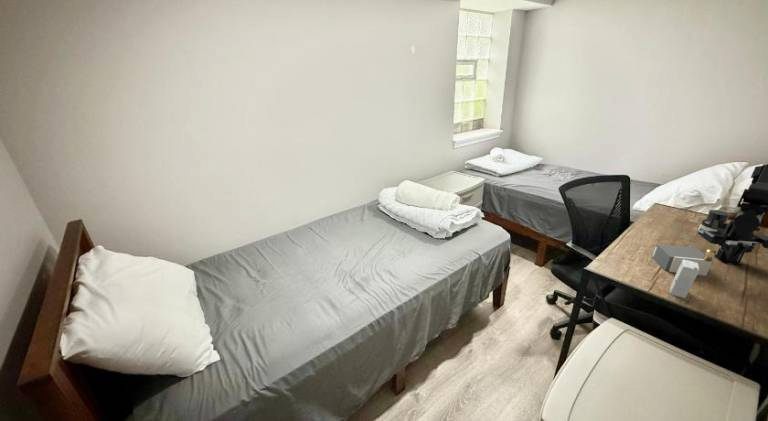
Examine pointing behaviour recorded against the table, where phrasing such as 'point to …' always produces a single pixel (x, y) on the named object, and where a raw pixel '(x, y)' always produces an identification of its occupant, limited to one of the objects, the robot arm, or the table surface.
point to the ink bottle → (713, 215)
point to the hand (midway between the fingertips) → (728, 259)
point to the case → (674, 254)
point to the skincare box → (684, 278)
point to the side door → (703, 263)
